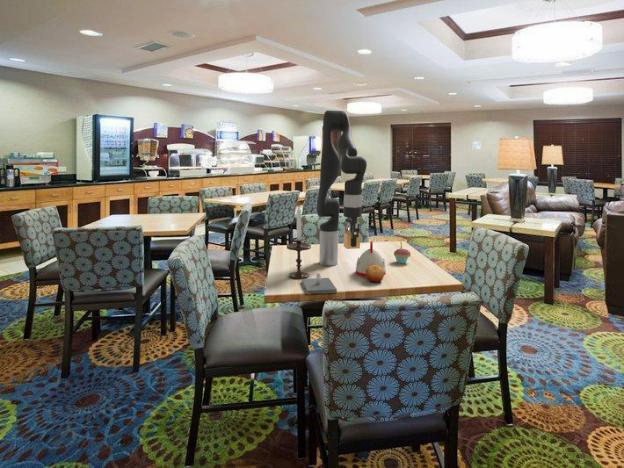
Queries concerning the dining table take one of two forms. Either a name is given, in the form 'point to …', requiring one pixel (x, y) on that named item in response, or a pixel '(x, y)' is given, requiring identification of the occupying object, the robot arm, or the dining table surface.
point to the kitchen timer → (369, 261)
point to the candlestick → (298, 249)
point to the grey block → (319, 285)
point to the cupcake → (401, 254)
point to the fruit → (375, 273)
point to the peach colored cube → (348, 241)
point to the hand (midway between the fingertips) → (351, 244)
